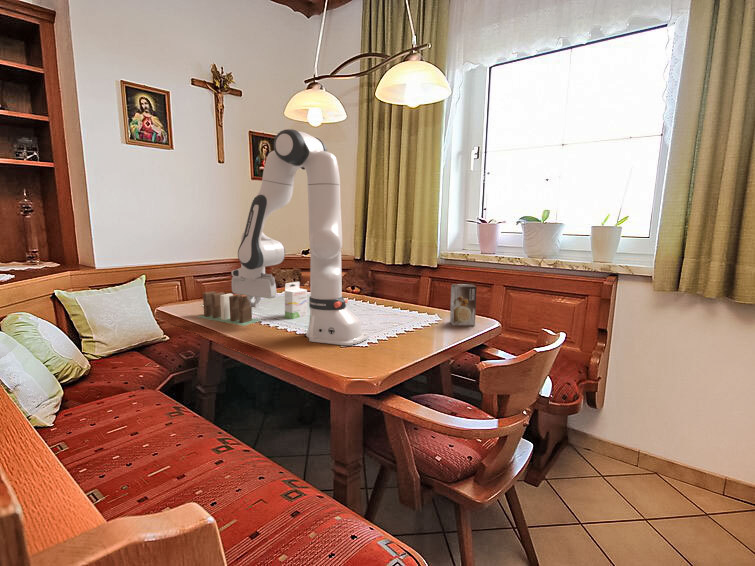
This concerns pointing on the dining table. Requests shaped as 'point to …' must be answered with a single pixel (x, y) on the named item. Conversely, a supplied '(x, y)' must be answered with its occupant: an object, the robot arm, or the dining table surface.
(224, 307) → the ivory domino
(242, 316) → the domino
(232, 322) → the felt mat
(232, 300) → the domino
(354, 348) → the dining table surface
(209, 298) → the domino
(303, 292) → the ink box
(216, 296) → the domino
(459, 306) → the coffee box
